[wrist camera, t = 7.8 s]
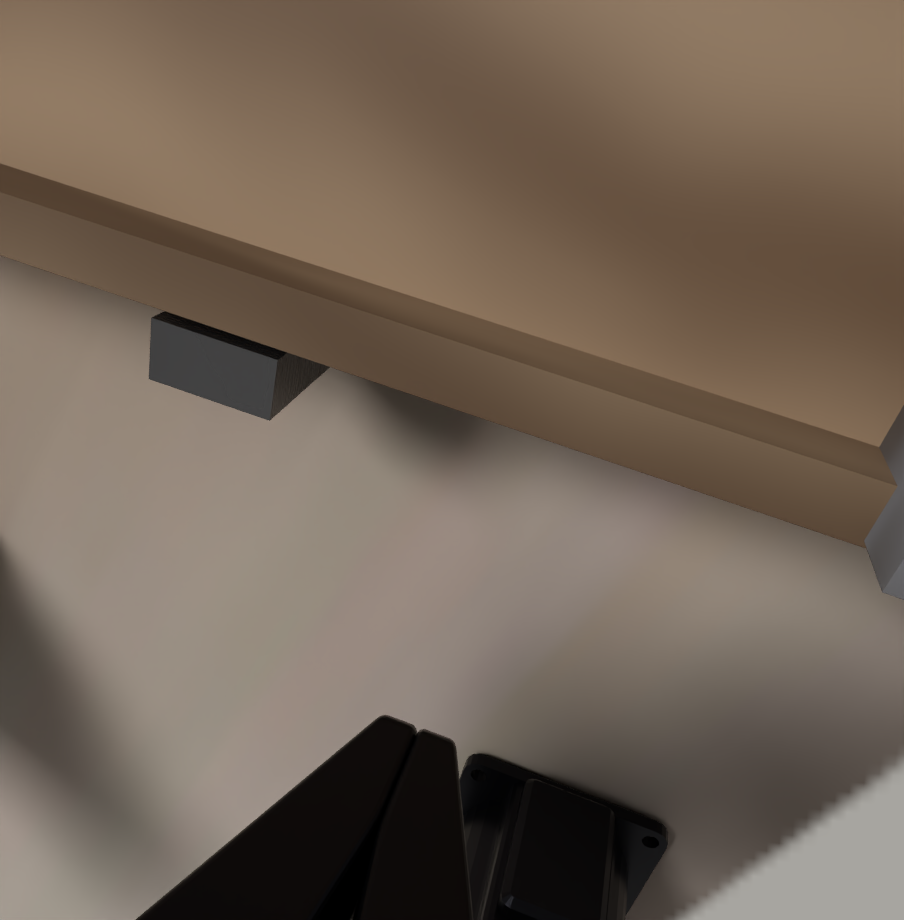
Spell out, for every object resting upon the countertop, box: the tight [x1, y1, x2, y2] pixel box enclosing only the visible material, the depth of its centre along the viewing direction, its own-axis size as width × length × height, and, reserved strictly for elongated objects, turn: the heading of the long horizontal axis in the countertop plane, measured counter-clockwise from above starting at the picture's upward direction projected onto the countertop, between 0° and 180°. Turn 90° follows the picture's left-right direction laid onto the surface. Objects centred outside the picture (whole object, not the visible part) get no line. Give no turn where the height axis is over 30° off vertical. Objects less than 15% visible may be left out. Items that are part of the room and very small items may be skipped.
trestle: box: [149, 311, 329, 421], centre depth 14 cm, size 12×8×6 cm, turn 167°
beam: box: [0, 0, 904, 600], centre depth 11 cm, size 9×28×4 cm, turn 77°
